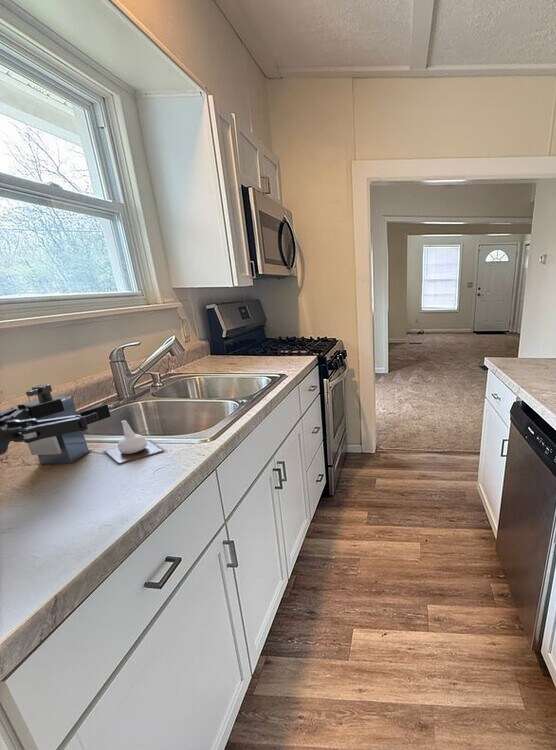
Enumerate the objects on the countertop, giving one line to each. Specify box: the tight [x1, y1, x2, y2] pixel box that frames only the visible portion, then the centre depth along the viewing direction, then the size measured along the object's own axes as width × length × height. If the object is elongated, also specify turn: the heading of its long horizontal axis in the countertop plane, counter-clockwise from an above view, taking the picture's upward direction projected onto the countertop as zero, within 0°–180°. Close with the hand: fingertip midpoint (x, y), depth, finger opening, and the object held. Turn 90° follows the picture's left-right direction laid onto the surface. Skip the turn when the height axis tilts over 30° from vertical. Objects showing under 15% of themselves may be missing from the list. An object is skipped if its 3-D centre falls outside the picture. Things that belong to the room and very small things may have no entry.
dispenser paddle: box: [27, 436, 61, 456], centre depth 92 cm, size 1×6×6 cm, turn 93°
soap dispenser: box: [24, 384, 90, 465], centre depth 95 cm, size 8×7×19 cm
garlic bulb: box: [117, 419, 147, 454], centre depth 100 cm, size 6×6×8 cm
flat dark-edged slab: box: [104, 439, 164, 465], centre depth 102 cm, size 11×10×1 cm
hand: (84, 407), depth 88 cm, fingers open, 13 cm apart
